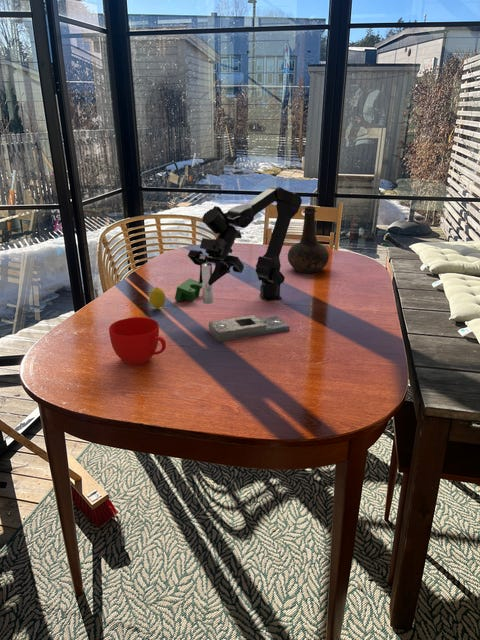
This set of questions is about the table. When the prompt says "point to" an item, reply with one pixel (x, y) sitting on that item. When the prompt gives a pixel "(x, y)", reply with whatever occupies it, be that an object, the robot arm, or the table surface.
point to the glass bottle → (308, 247)
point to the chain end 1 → (234, 327)
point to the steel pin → (205, 280)
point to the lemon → (157, 297)
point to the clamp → (188, 290)
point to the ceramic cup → (136, 339)
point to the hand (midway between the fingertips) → (204, 283)
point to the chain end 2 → (272, 326)
